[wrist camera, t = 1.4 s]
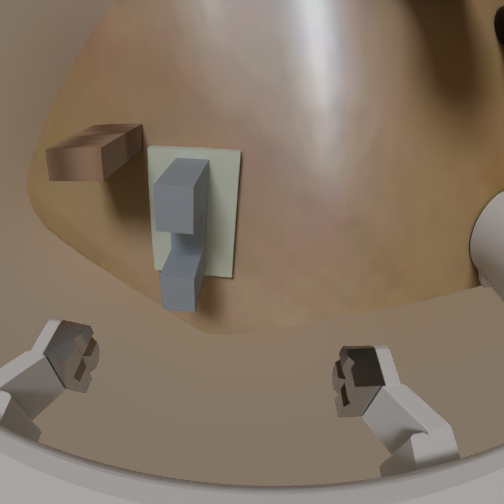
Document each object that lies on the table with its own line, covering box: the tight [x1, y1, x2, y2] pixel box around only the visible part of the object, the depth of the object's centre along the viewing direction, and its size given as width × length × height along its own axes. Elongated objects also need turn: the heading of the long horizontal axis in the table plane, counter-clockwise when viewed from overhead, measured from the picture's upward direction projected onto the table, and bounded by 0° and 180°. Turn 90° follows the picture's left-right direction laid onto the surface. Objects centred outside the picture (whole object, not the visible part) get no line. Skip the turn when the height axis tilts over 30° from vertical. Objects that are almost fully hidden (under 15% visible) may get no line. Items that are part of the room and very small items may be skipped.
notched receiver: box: [148, 146, 241, 313], centre depth 34 cm, size 10×16×9 cm, turn 175°
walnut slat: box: [46, 124, 142, 181], centre depth 28 cm, size 6×3×10 cm, turn 85°
